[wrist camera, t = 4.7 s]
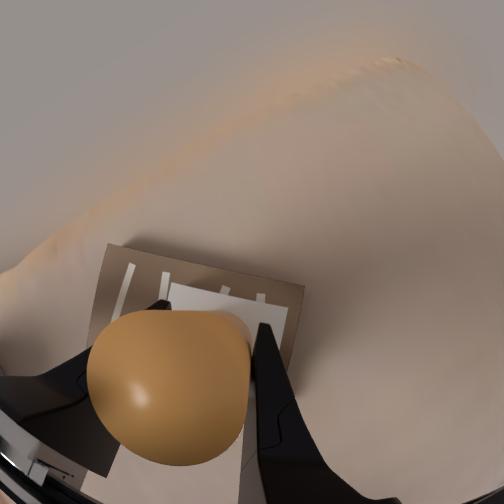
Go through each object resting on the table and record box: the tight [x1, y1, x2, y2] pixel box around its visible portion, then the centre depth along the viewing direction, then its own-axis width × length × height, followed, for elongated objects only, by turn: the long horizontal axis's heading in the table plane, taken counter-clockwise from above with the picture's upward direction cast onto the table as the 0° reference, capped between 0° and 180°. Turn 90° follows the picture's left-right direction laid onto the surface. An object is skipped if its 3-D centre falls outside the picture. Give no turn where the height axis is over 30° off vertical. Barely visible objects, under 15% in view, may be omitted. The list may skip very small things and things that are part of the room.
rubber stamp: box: [87, 282, 288, 466], centre depth 10 cm, size 5×6×11 cm
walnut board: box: [86, 243, 305, 372], centre depth 16 cm, size 8×13×2 cm, turn 78°
